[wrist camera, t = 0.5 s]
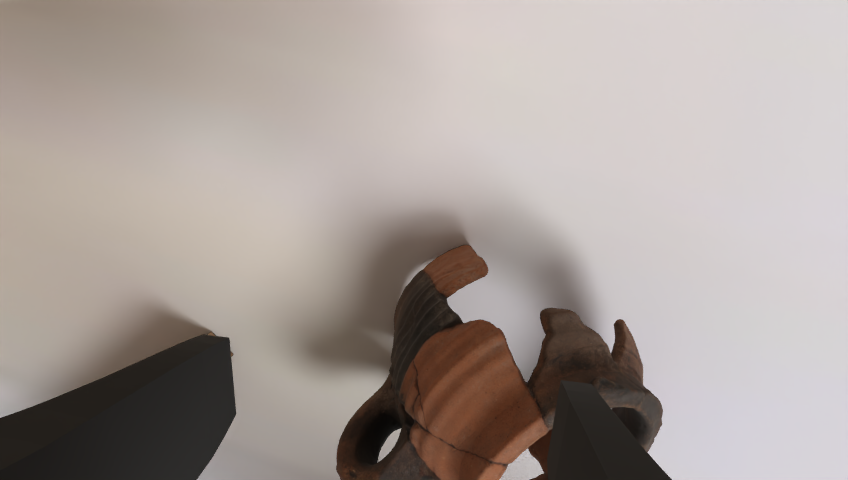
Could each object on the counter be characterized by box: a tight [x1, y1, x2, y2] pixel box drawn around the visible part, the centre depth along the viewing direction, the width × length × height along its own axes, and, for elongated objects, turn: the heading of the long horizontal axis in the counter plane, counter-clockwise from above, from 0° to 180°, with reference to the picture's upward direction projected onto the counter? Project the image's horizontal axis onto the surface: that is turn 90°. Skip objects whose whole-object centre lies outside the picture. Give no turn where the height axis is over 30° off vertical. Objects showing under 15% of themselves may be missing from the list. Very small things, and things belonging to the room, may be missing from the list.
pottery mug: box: [336, 245, 663, 480], centre depth 19 cm, size 12×10×8 cm
